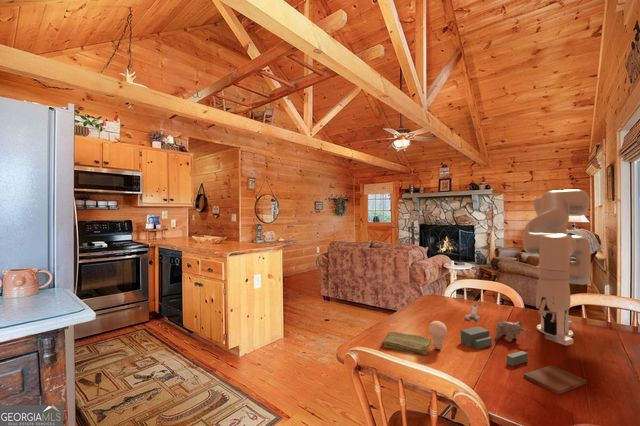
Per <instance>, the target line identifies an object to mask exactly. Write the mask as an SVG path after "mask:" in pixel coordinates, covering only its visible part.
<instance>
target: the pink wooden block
mask: <svg viewBox="0 0 640 426" xmlns="http://www.w3.org/2000/svg"><path fill="white" fill-rule="evenodd" d="M547 310H548V311H549V309H547ZM547 314H549V315H550V316H551V314H550V313H547ZM554 322H556V335H551V334H548V333H545V334H544V339H546V340H550V341H551V342H555V343H557V344H560V345H563V346H569V345H573V344H574V338H572V337H567V336H564V311H560V312H555V321H554Z"/></svg>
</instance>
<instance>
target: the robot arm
mask: <svg viewBox="0 0 640 426" xmlns="http://www.w3.org/2000/svg"><path fill="white" fill-rule="evenodd" d="M590 202H591V201H590V197H589V194H588V193H587V192H586V191H585V190H583V189H563V190H561V189H559V190H556V189H555V190H549V191H547V192H545V193H543V194H542V195H541V196H538V197H537V198H535V199H534V201H533V208H534V210H535V214H536V215H537V216H535V217H533V218H532V219H530V221H528V222H527V223H526V225H525V227H524V229H523V230H524V231H523V237H522V247H523V249H524V251H525V252H526V253H527V254H529V255H530V254H531V255H538V256H539V259H538V265H537V269H538V270H537V271H538V276H539V277H538V281H537V286H536V292H535V293H536V296H535V298H536V299H535V308H536V309H537V310H538V312H537V313H538V315H540V324H537V325H536V330H537V331H539V333H542V334H544V335H545V333H548V334H551V335H556V322H554V321H555V312H560V311H564V336H567V337H570V338H572V337H573V336H574V332H573V331H572V330H571V329H569V327H571V326H573V325H574V323H573V321H571V320H569V311H570V308H571V289H570V284H571V285H580V286H581V285H583V286H584V285H588V284H589V283H590V282H591V278H592V277H591V275H592V273H591V272H592V268H591V267H592V266H591V265H592V262H591V245H590V243H591V242H590V241H589V239H588V237H585V236H583V235H571V234H567V233H568V231H567V230H568V229H567V226H568V225H567V224H568V222H569V220H570V217H581V216H582V217H583V216H584V215H586V214H587V212H588V210H589V208H590ZM570 259H574V260H570ZM547 309H549V311H548V310H547ZM547 313H550V314H551V316H550V315H549V314H547Z"/></svg>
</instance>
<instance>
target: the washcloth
mask: <svg viewBox="0 0 640 426" xmlns="http://www.w3.org/2000/svg"><path fill="white" fill-rule="evenodd" d="M431 342H432V340H431V339H430V338H428V337H425V336H422V335H416V334H407V333H403V332H398V331H389V332H387V334H386V336H385V338H384V339H383V340H382V342H381V346H382V347H383V348H385V349H388V350H393V351H398V352H399V351H400V352H407V353H410V354H411V353H413V354H418V355H422V356H427V353H428V351H429V349H430V345H431Z"/></svg>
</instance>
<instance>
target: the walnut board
mask: <svg viewBox="0 0 640 426" xmlns="http://www.w3.org/2000/svg"><path fill="white" fill-rule="evenodd" d="M523 377H524V378H525V379H527V380H528V381H531V382H533V383H534V384H537V385H538V386H541V387H542V388H545V389H546V390H549V391H550V392H552V393H554V394H556V395H561V394H564V393H566V392H568V391H571V390H574V389H576V388H579V387H582V386H584V385H586V383H587V382H588V381H587V380H586V379H584V378H582V377H580V376H578V375H575V374H574V373H571V372H569V371H566V370H564V369H562V368H559V367H557V366H555V365H553V364H550V365H548V366H545V367H541V368H538V369H535V370H532V371H529V372H525V373H524V374H523Z"/></svg>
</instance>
